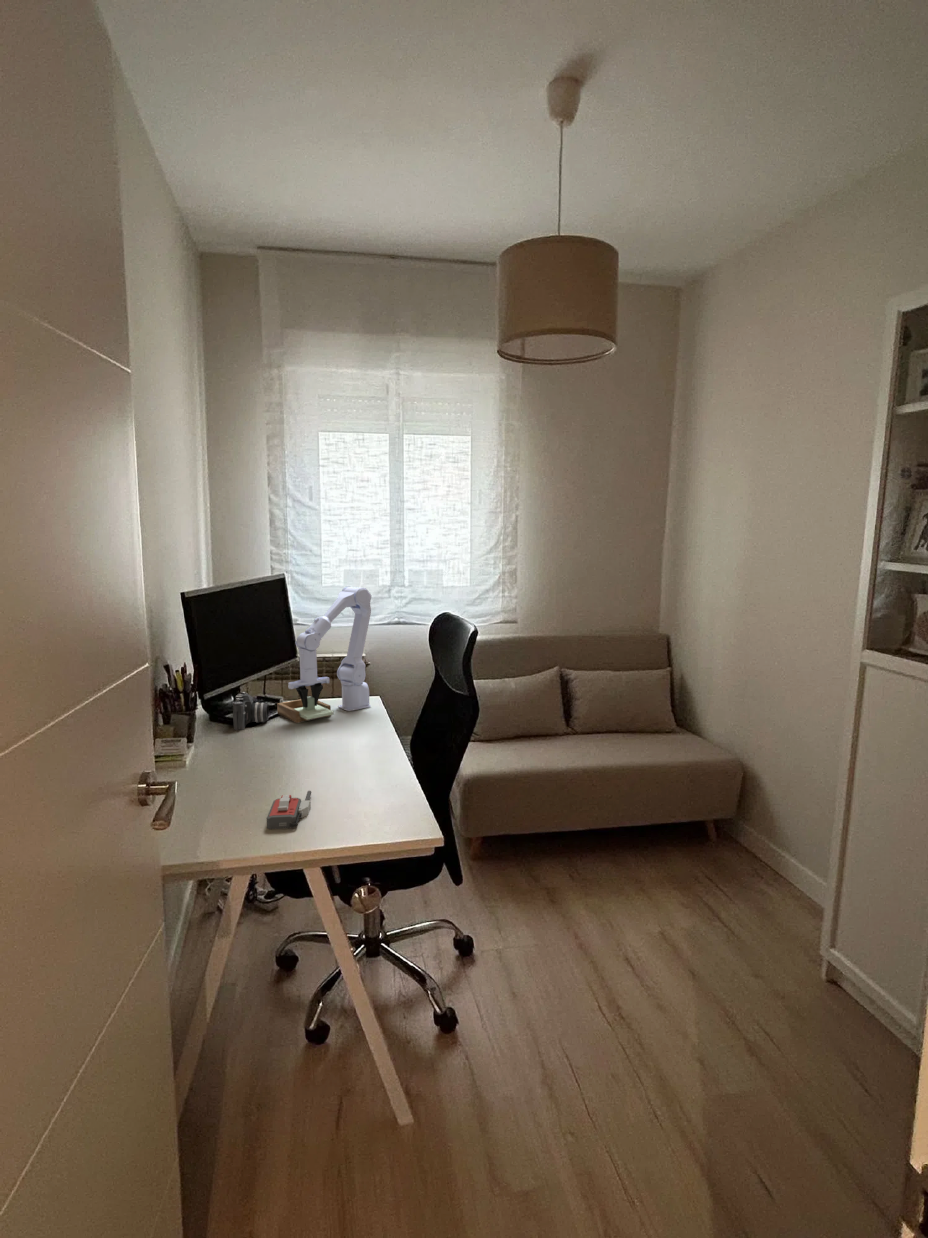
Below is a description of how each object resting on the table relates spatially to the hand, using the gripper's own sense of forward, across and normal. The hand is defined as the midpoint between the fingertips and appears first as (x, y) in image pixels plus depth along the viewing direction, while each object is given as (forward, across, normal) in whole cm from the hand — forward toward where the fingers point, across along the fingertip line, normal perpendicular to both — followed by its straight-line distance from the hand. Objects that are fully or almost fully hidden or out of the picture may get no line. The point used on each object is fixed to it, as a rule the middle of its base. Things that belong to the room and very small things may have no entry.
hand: (310, 706), depth 248 cm
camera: (+4, +19, -7) cm, 20 cm away
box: (+4, 0, -5) cm, 6 cm away
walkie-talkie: (+5, +40, +71) cm, 82 cm away
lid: (+2, 0, +2) cm, 3 cm away
